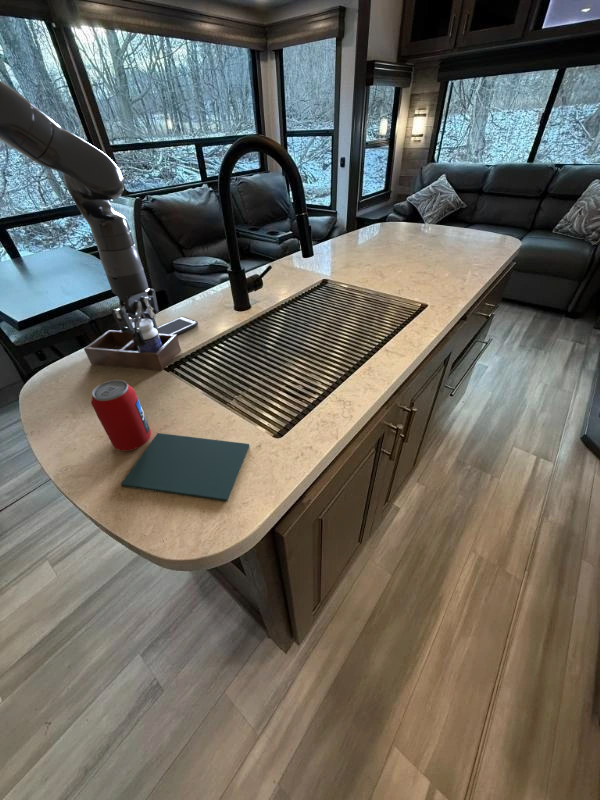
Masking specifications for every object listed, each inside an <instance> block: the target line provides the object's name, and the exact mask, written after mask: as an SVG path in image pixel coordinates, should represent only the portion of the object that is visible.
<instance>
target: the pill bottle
mask: <svg viewBox="0 0 600 800" xmlns="http://www.w3.org/2000/svg"><path fill="white" fill-rule="evenodd" d="M132 326H133V327H135V325H134V322H132ZM153 326H154V325H153V322H152V320H151V319H145V318H141V322H140V331H141V333H142V336H143V339H144V342H145V345H144V346H137V348H138V351H140V352H152V353H156V352H157V351H158V350H159V349H160V348H161V347H162V343H161V340H160V337H159V334H158V331H157V329H155V328H154V327H153Z"/></svg>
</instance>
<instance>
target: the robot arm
mask: <svg viewBox="0 0 600 800" xmlns="http://www.w3.org/2000/svg"><path fill="white" fill-rule="evenodd" d="M0 140H1V141H2V142H4V143H5V144H6V145H8V146H10V147H11V148H13V149H14V150H16V151H17V152H19V153H20V154H22V155H24V156H25V157H26V158H28V159H30V160H31V161H33V162H34V163H36V164H38V165H39V166H41V167H44V168H46V169H50V170H54V171H56V172H60V173H62V176H63V177H62V178H63V181H64V183H65V187H66V189H67V191H68V193H69V195H70V197H71V198H72V200H73V202H74V203H75V205H76V207H77V208H78V210H79V211H80V214H81V215H82V217H83V218H84V220H85V221H86V223H87V225H88V226H89V229H90V231H91V234H92V237H93V239H94V242H95V245H96V247H97V250H98V253H99V258H100V261H101V264H102V268H103V271H104V273H105V276H106V279H107V281H108V284H109V287H110V289H111V292H112V294H114V295H115V296H116V297H117V298H118V302H119V306H118V307H117V308H112V309H111V314H112V316H113V318H114V320H115V322H116V323H117V326H118V327H119V329H120V331H122V333H130V334H131V336H132V339H133V342H134V344H135V345H136V346H144V345H145V342H144V339H143V336H142V333H141V331H140V322H141V319H142V317H143V319H151V320H152V322H153V325H154V326H153V327H154V328H155V329H157V331H158V328H157V327H158V325H157V322H156V318H157V316H156V315H157V314H159V306H158V301H157V296H156V295H157V294H156V291H155V289H154V288H149V284H148V280H147V277H146V273H145V270H144V267H143V264H142V261H141V257H140V254H139V252H138V250H137V248H136V245H135V242H134V238H133V235H132V231H131V228H130V225H129V222H128V219H127V218H126V217H125V216H124V215H123V214H121V213H119V212H117V211H115V210H114V208H112V206H111V203H110V201H113V200H116V199H118V198H120V197H121V196H122V195H123V193H124V190H125V180H124V177H123V174H122V172H121V170H120V168H119V167H118V166H117V164H116V163H115V161H113V159H111V157H109V156H108V155H107V154H106V153H104V152H103V151H102V150H100V149H98V148H97V147H96V146H94V145H92V144H91V143H89V142H87V141H86V140H84V139H83V138H81V137H79V136H77V135H76V134H74V133H72V132H70V131H68V130H66V129H65V128H63V127H61V126H60V125H59V124H58V123H56V122H55V121H54V120H53V119H52V118H50V117H49V116H48V115H47V114H45V113H44V112H43V111H42V110H41V109H39V108H38V107H37V106H36V105H34V104H33V103H32V102H31V101H29V100H28V99H27V98H25V97H24V96H23V95H22V94H20V93H19V92H18V91H16V90H15V89H13V88H12V87H10V86H9V85H8V84H6V83H4V82H3V81H2V80H0ZM133 322H134V325H135V327H133V326H132V323H133Z"/></svg>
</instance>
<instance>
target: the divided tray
mask: <svg viewBox="0 0 600 800" xmlns="http://www.w3.org/2000/svg"><path fill="white" fill-rule="evenodd" d="M159 337H160V340H161V343H162V347H161V348H160V349H159V350H158V351H157V352H156V353H152V352H140V351H138V348H137V346H136V345H135V344H134V342H133V339H132V336H131V334H130V333H122V331H121V330H114V329H108V330H107V331H105V332H104V333H103V334H102V335H100V336H99V337H97V338H96V339H94V340H93V341H92V342H91V343H89V344H88V345H87V346H85V347H84V348H83V350H84V352H85V355H86V356H87V358H88V361H89V363H90V365H95V366H96V365H97V366H106V367H107V366H108V367H118V368H119V367H121V368H130V369H141V370H153V371H164V370H165V368H166V367H167V366H168V365H169V364H170V363H171V362H172V360H174V359H175V358H176V356H177V355H178V354H179V353H180V352H181V351H182V349H181V346H180V342H179V338H178V335H171V334H159ZM116 347H119V348H120V347H121V348H120V349H115V348H116Z"/></svg>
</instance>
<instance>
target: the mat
mask: <svg viewBox="0 0 600 800" xmlns="http://www.w3.org/2000/svg"><path fill="white" fill-rule="evenodd" d="M249 448H250V443H246V442H237V441H228V440H219V439H212V438H211V439H210V438H203V437H194V436H187V435H179V434H178V435H177V434H169V433H163V432H161V433H160V432H157V433H156V434H155V436H154V437H153V439H152V440H151V441H150V442H149V444H148V445H147V447H146V448H145V450H144V451H143V452H142V453H141V455H140V457H139V458H138V459H137V461H136V462H135V463H134V465H133V466H132V468H131V469H130V471H129V472H128V473H127V474H126V476H125V477H124V478H123V480H122V481H121V482H120V486H121V487H124V488H130V489H137V490H144V491H150V492H158V493H165V494H171V495H179V496H185V497H190V498H191V497H192V498H198V499H199V498H200V499H205V500H214V501H220V502H227V503H228V500H229V498H230V495H231V493H232V491H233V488H234V486H235V483H236V481H237V478H238V476H239V473H240V471H241V468H242V465H243V463H244V460H245V459H246V456H247V453H248V450H249Z"/></svg>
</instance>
